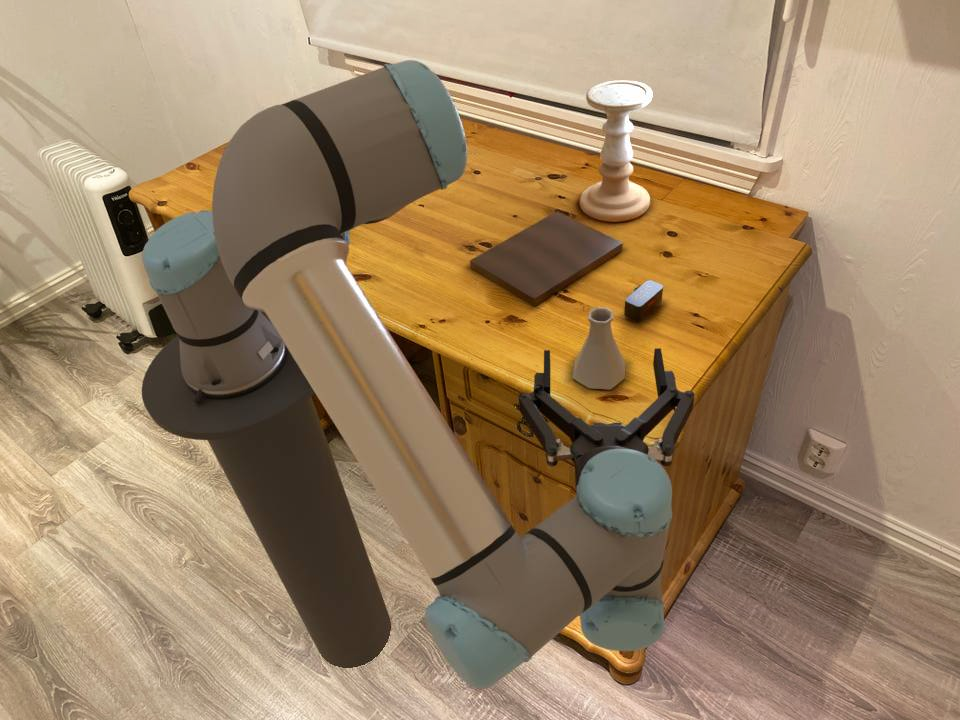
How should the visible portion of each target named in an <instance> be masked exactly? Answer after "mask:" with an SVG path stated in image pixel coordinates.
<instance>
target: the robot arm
mask: <svg viewBox="0 0 960 720" xmlns="http://www.w3.org/2000/svg"><path fill="white" fill-rule="evenodd" d="M467 163H468V146H467V139H466V133H465V129H464V126H463V122H462V119H461V116H460V114H459V112H458V108H457V107H456V104H455V102H454V100H453V97H452V96H451V94H450V92H449V91H448V89H447V87H446V86H445V84H444V83H443V81H442V80H441V79H440V78H439V76H438V75H437V74H436V73H435V71H432V70H431V69H430V67H429V66H427V65H426V64H425V63H423V62H420V61H419V60H413V59H408V60H407V59H406V60H403V61H399V62H396V63H392V64H390V63H385V64H383V66H382V67H380V68H377V69H375V70H371V71H368V72H366V73H363V74H361V75H358V76H355V77H352V78H350V79H347V80H344V81H341V82H339V83H335V84H333V85H330V86H328V87H325V88H323V89H319V90H317V91H314V92H311V93H308V94H306V95H303V96H300V97H298V98H295V99H291V100H290V101H287V102H285V103H282V104H275V105H272V106H270V107H267V108H265V109H263V110H261V111H259V112H257V113H256V114H254V115H253V116H252V117H250V118H249V119H248V120H246V121H245V122H244V123H243V124H241V125H240V127H239V128H237V130H236V132H234V134H233V135H232V137H231V138H230V140H229V141H228V143H227V145H226V146H225V148H224V150H223V152H222V154H221V157H220V160H219V163H218V166H217V169H216V174H215V179H214V182H213V190H212V199H211V210H208V209H207V210H205V209H204V210H199V211H198V212H195V211H191V212H187V213H183V214H181V215H179V216H176V217H174V218H171V219H170V220H168V221H167V222H165V223H163V224H162V225H161V226H160V227H158V228H157V229H156V230H155V231H154V232H153V233H152V234H151V235H150V237H148V241H147V242H146V243H145V245H144V247H143V249H142V255H141V258H142V264H143V268H144V270H145V272H146V274H147V277H148V280H149V285H150V287H151V289H152V290H153V291H154V292H155V293H156V295H157V296H158V298H159V301H160V303H161V305H162V308H163V309H164V311H165V314H166V315H167V318H168V319H169V321H170V323H171V325H172V328H173V330H174V332H175V333H176V337H177V336H178V338H179V344H180V361H181V371H182V376H183V378H184V380H185V382H186V384H187V386H188V387H189V389H190V390H191V391H192V392H194V393H195V394H196V396H195V398H194V400H193V401H194V402H196V403H199V404H200V402H201V400H202V398H203V397H204V398H209V399H230V398H235V397H239V396H243V395H246V394H248V393H251V392H253V391H255V390H257V389H259V388H261V387H263V386H264V385H266V384H267V383H268V382H270V381H271V380H272V379H273V378H274V377H275V376H276V375H277V374H278V373H279V372H280V370H281V369H282V367H283V366H284V364H285V361H286V358H287V349H288V350H289V352H290V353H291V355H292V357H293V358H294V360H295V361H296V363H297V365H298V366H299V368H300V369H301V371H302V373H303V374H304V376H305V377H306V379H307V381H308V382H309V384H310V385H311V387H312V389H313V390H314V392H315V393H314V394H315V395H316V397H317V398H318V400H319V402H320V403H321V405H322V407H323V408H324V409H325V411H326V413H327V415H328V416H329V418H330V419H331V421H332V423H333V424H334V425H335V427H336V429H337V430H338V432H339V433H340V435H341V437H342V439H343V440H344V442H345V443H346V445H347V446H348V448H349V450H350V451H351V453H352V454H353V457H354V458H355V460H356V461H357V462H358V464H359V466H360V467H361V469H362V471H363V472H364V475H366V477H367V479H368V480H369V482H370V483H371V485H372V487H373V489H374V490H375V492H376V493H377V494H378V496H379V498H380V500H381V501H382V502H383V504H384V506H385V507H386V509H387V511H388V512H389V514H390V516H391V517H392V519H393V520H394V522H395V524H396V525H397V527H398V529H399V530H400V532H401V533H402V535H403V537H404V539H405V540H406V542H407V543H408V545H409V546H410V548H411V549H412V550H413V552H414V554H415V556H416V557H417V559H418V560H419V562H420V564H421V565H422V567H423V568H424V570H425V571H426V574H427V575H428V576H429V578H430V581H432V583H433V584H434V586H435V587H436V589H437V591H438V594H439V595H438V596H436V597H435V598H434V601H432V602H431V603H430V604H429V605H428V606H427V607H426V609H425V612H424V620H425V624H426V627H427V629H428V632H430V634H431V636H432V638H433V641H434V643H435V644H436V647H437V648H438V649H439V651H440V653H441V654H442V656H443V658H444V659H445V660H446V662H447V664H448V665H449V666H450V667H451V668H452V669H453V671H454V672H455V673H456V675H457V676H458V677H459V678H460V679H461V680H462V681H463V682H465V683H466V684H467V685H469V686H470V687H473V688H475V689H477V690H486V689H490V688H492V687H493V686H494V685H495V684H497V683H498V682H499V681H501V680H502V679H504V678H505V677H506V676H508V675H509V674H510V673H511V672H513V671H514V670H516V669H517V668H518V667H519V666H522V664H524V663H528V662H529V661H531V660H532V659H533V656H534V655H536V654H537V653H538V652H539V651H540V650H542V649H543V647H544V646H546V645H547V644H548V643H549V642H551V640H553V639H554V638H555V637H556V636H557V635H558V634H560V632H562V631H563V630H564V629H566V627H568V626H569V625H570V624H571V623H573V621H574V620H576V619H577V618H578V617H579V621H580V630H581V633H582V635H583V636H584V637H585V639H587V641H589V642H590V643H591V644H592V645H594V646H597V647H598V648H602V649H605V650H608V651H609V650H610V651H616V652H633V651H639V650H643V649H646V648H648V647H651V646H652V645H654V644H656V643H657V642H658V641H659V640H660V639H661V638H662V637H663V634H664V632H665V615H664V614H665V613H664V609H665V607H666V606H665V601H663V594H662V575H663V569H664V564H665V553H666V548H667V543H668V538H669V537H668V536H669V532H670V526H671V523H672V518H673V514H674V513H673V507H672V501H673V485H672V482H671V478H670V476H669V474H668V473H667V470H666V469H665V468H664V467H671V465H672V463H673V458H674V451H675V445H676V443H677V442H678V439H679V437H680V436H681V434H682V432H683V429H684V427H685V425H686V423H687V421H688V420H689V417H690V415H691V414H692V411H693V409H694V403H695V402H694V401H695V395H696V394H695V392H694V391H692V390H686V391H680V390H679V389H678V387H677V383H676V376H675V373H674V372H673V370H665V363H664V358H663V352H662V348H661V347H656V348H654V349H653V350H654V352H653V361H652V367H653V373H654V379H655V386H656V394H657V398H656V399H655V400H654V401H653V402H652V403H651V404H650V405H649V406H648V407H647V408H646V409H645V410H644V411H643V412H642V413H641V414H640V415H639V416H638V417H637V416H636V417H634V418H632V419H631V421H630V422H628V424H626V425H625V424H622V422H611V423H604V422H593V424H591V425H590V424H588V422H587V421H585V420H584V419H582V418H581V417H576V415H574V414H573V413H571V411H570V410H568V409H567V408H566V407H565V406H563V405H562V404H561V403H560V402H559V401H558V400H556V399H555V398H554V397H552V396H551V350H550V349H545V350H543V372H535V374H534V376H533V377H534V378H533V379H534V381H533V390H532V392H531V393H528V392H521V393H518V407H519V409H518V410H519V413H520V414H521V416H522V418H523V419H524V420H525V422H526V423H527V425H528V427H529V428H530V430H531V431H532V434H534V436H535V438H536V439H537V441H538V442H539V444H540V445H541V447H542V448H543V450H544V451H545V459H546V464H547V466H550V467H556V466H557V465H558V461H568V460H569V461H571V462H572V463H573V464H574V480H575V482H574V483H575V484H574V485H575V495H576V496H574V498H572V499H570V500H569V501H568V502H566V503H565V504H563V506H561V507H560V508H559V509H557V510H556V511H554V512H553V513H552V514H551V515H548V517H546V518H545V519H544V520H543V521H541V522H540V523H538V524H537V525H536V526H534V527H533V528H532V529H530V530H528V531H527V532H525V533H524V534H523V535H521V536H520V535H519V533H518V532H517V531H516V530H515V528H514V526H513V525H512V523H511V521H510V519H509V517H508V516H507V515H506V513H505V512H504V510H503V508H502V507H501V505H500V503H499V502H498V500H497V499H496V497H495V496H494V495H493V493H492V491H491V489H490V488H489V487H488V485H487V484H486V481H485V480H484V479H483V477H482V476H481V474H480V472H479V470H478V469H477V467H476V466H475V464H474V463H473V462H472V459H471V458H470V457H469V455H468V453H467V452H466V450H465V448H464V447H463V446H462V444H461V443H460V441H459V439H458V437H457V436H456V435H455V433H454V432H453V430H452V429H451V427H450V425H449V424H448V422H447V420H446V419H445V417H444V416H443V414H442V413H441V411H440V410H439V408H438V406H437V405H436V403H435V402H434V400H433V399H432V397H431V395H430V394H429V392H428V390H427V389H426V387H425V386H424V385H423V383H422V382H421V380H420V379H419V377H418V375H417V374H416V372H415V370H414V369H413V367H412V366H411V364H410V363H409V361H408V360H407V358H406V356H405V355H404V354H403V352H402V350H401V349H400V347H399V346H398V344H397V342H396V341H395V339H394V338H393V336H392V334H391V333H390V331H389V330H388V328H387V326H386V325H385V324H384V322H383V321H382V319H381V317H380V316H379V314H378V312H377V311H376V310H375V308H374V306H373V305H372V303H371V302H370V300H369V298H368V297H367V295H366V293H364V291H363V289H362V287H361V286H360V284H359V283H358V281H357V280H356V278H355V277H354V275H353V273H352V272H351V270H350V269H349V267H348V266H347V261H348V257H349V253H350V243H351V238H350V236H349V235H350V233H351V230H353V229H356V228H357V227H360V226H362V225H372V224H377V223H380V222H383V221H386V220H387V219H389V218H391V217H393V216H394V215H396V214H397V213H398V212H400V211H401V210H403V209H404V208H406V207H407V206H409V205H411V204H412V203H414V202H416V201H418V200H419V199H421V198H423V197H426V196H427V195H430V194H432V193H435V192H436V191H438V190H442V191H444V190H446V189H447V188H448V186H449V185H451V184H453V183H455V182H456V181H458V180H459V179H460V178H461V177H463V175H464V173H465V171H466V168H467ZM260 311H263V312H265V313H266V315H267V317H268V318H269V320H270V321H271V323H272V324H271V323H270V322H269V320H268V319H267V318H266V317H265V316H264V315H263V314H262V313H261V312H260ZM286 347H287V349H286ZM672 411H673V413H672V415H671V417H670V419H669V421H668V423H667V424H666V427H665V429H664V431H663V433H662V438H661V437H660V438H658V439H657V440H656V441H655V442H654V443H653V445H652V446H648V444H647V443H646V442H645V438H646V437H647V436H648V435H649V434H651V432H652V431H653V430H655V428H656V427H657V426H658V425H659V424H660V423H661V422H662V421H663V420H664V419H665V418H666V417H667V416H668V415H669V414H670V413H671V412H672ZM546 419H547V420H548V421H550V422H551V423H552V424H553V425H554V426H555V427H556V428H558V429H559V430H560V431H561V432H562V433H563V434H564V435H566V436H567V437H568V438H569V439H570V442H571V445H570V447H568V446H565V444H564V443H563V442H562V441H561V439H560V438H556V435H555V432H554V431H553V429H552V427H551V426H550V425H549V423H548V421H546ZM658 461H660V463H659V462H658ZM663 466H664V467H663Z"/></svg>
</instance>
